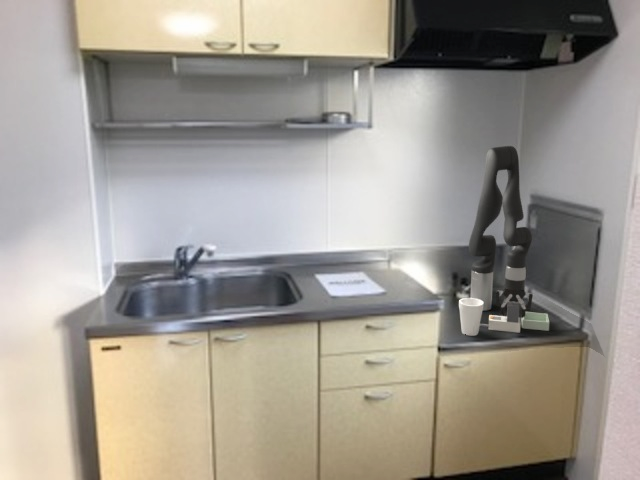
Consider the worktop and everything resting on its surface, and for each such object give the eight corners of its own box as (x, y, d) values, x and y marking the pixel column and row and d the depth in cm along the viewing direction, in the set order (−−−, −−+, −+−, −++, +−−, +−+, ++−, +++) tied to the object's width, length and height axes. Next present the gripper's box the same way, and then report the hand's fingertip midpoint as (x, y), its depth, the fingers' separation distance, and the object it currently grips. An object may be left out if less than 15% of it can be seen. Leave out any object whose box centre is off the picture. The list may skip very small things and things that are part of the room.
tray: (521, 319, 226) (521, 311, 225) (546, 321, 223) (547, 313, 222) (522, 328, 217) (522, 320, 216) (548, 330, 214) (549, 322, 213)
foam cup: (467, 338, 208) (468, 307, 205) (453, 330, 217) (454, 300, 214) (487, 334, 212) (488, 303, 209) (472, 326, 220) (473, 296, 217)
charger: (506, 320, 219) (507, 299, 217) (517, 321, 218) (518, 300, 216) (506, 326, 214) (508, 304, 212) (517, 327, 213) (519, 305, 211)
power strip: (473, 322, 224) (474, 312, 223) (519, 326, 218) (520, 316, 217) (473, 327, 218) (473, 317, 217) (519, 332, 213) (520, 322, 212)
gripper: (534, 275, 212) (531, 314, 216) (496, 272, 217) (494, 311, 221) (535, 281, 206) (532, 321, 209) (496, 278, 210) (493, 318, 214)
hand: (512, 316), depth 215 cm, fingers open, 6 cm apart
